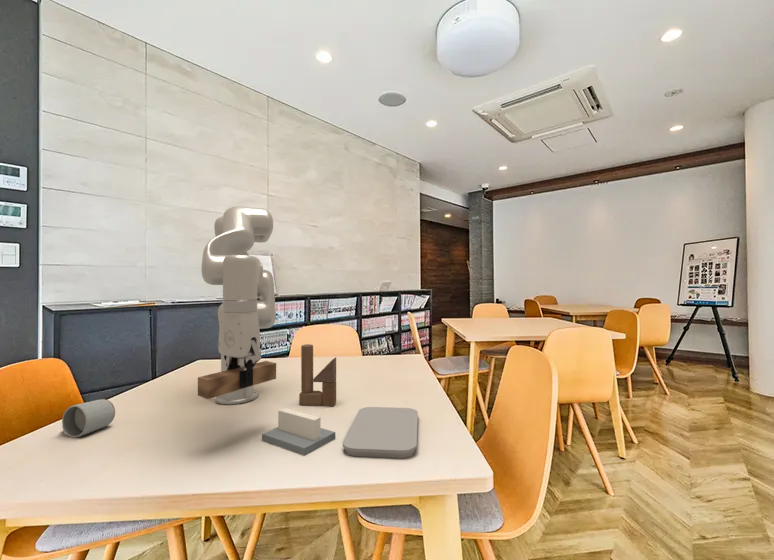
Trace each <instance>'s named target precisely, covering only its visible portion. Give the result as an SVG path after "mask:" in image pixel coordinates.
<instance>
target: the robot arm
mask: <svg viewBox="0 0 774 560" xmlns="http://www.w3.org/2000/svg"><path fill="white" fill-rule="evenodd" d="M213 229H214V234H215V235H214V237H213V238H212V239H210V240H209V241H208V242H207V243H206V245H205V247H204V249H203V252H202V259H201V260H202V261H201V270H200V271H201V275H202V276H201V277H202V278H203V280H204V282H205V283H206V284H208V285H211V286H212V285H213V286H222V303H221V304H220V305H219V307H218V309H217V320H218V325H219V329H218V330H219V331H218V343H217V348H218V349H217V350H218V353H219V354H220V372H222V371H226V370H230V369H235V368H239V367H241V369H242V370H241V371H240V388H244V389H240V390H237V391H234V392H230V393H227V394H224V395H220V396H217V397H214V399H215V402H216V403H218V404H219V405H220V404H222V405H237V404H244V403H248V402H251V401H254V400H255V399H257V398H258V396H259V395H258V394H259V392H258V391H257V390H255V389H254V385H253V369H254V368H255V364H256V363H259V361H260V360H262V356H261V353H260V349H261V334H260V333H261V332H260V329H261V330H262V329H270V328H272V327H273V326H274V325H275V322H276V318H277V317H276V296H275V295H276V294H275V283H274V282H275V280H274V277H273V274H272V273H271V272H270V271H269V270H267V269H264V265H263V263H262V262H261V261H260V259H259V258H258V257H257V256H254V255H250V254H249V253H248V252H249V251H250V250H251V249H252V248H253V247H254V245H255V243H266V242H268V240H269V239H270V238H271V235H272V234H273V231H274V218H273V216H272V214H271V212H270V211H269V210H268V209H265V208H260V207H248V206H231V207H229V208H227V209H226V210H225V211H224V213H223V214H222V216H220V217H218V218H216V220H215V222H214V226H213ZM251 385H253V386H251ZM248 386H250V387H248ZM245 387H247V388H245Z"/></svg>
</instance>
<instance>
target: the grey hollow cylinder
mask: <svg viewBox="0 0 774 560" xmlns="http://www.w3.org/2000/svg"><path fill="white" fill-rule="evenodd" d="M115 416H116V409H115V406H114V403H112V402H111V401H110V400H108V399H105V398H103V399H96V400H91V401H87V402H82V403H77V404H74V405H71V406H69V407H68V408H67V409H66V410H65V411H64V413H63V415H62V419H61V424H62V425H61V426H62V427H61V428H62V430H63V432H64V433H65V434H66V436H68V437H70V438H73V439H74V438H75V439H76V438H80V437H82V436H85V435H88V434H90V433H93V432H95V431H97V430H101V429H102V428H105V427H107V426H109V425H110V424H111V423H112V422H113V421H114V419H115Z"/></svg>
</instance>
